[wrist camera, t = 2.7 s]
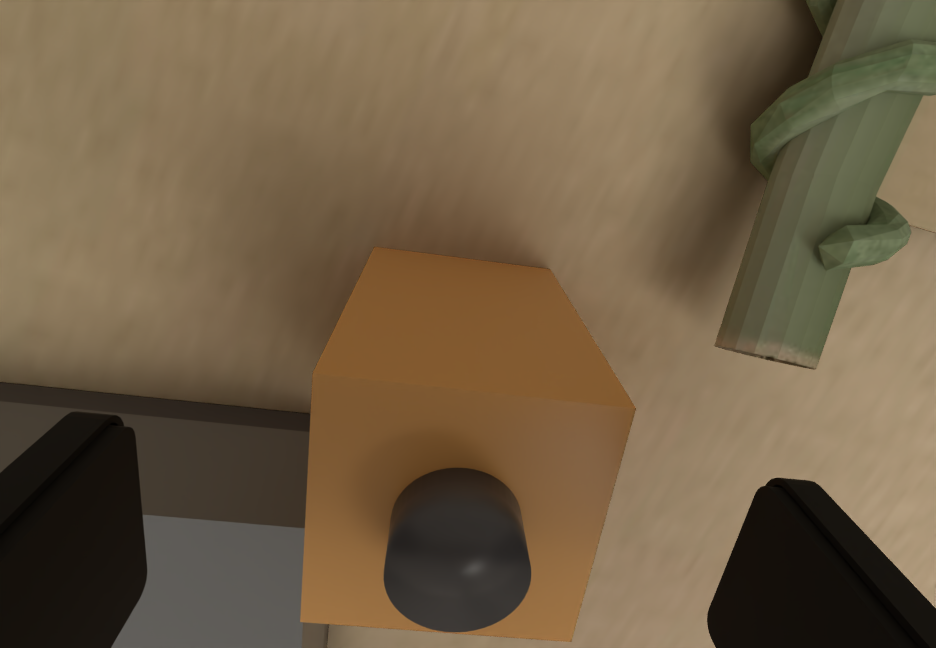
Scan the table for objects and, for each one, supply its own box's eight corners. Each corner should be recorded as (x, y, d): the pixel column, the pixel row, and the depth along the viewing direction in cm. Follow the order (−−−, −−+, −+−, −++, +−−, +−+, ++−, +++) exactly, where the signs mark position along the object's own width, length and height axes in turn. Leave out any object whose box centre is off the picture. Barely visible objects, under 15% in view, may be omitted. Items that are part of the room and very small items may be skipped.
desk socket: (343, 417, 18) (305, 535, 13) (321, 725, 23) (287, 892, 18) (-296, 352, 16) (-605, 457, 12) (-172, 696, 21) (-353, 872, 16)
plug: (549, 269, 16) (662, 452, 8) (520, 420, 18) (585, 704, 10) (374, 246, 16) (292, 414, 7) (361, 403, 18) (282, 685, 9)
